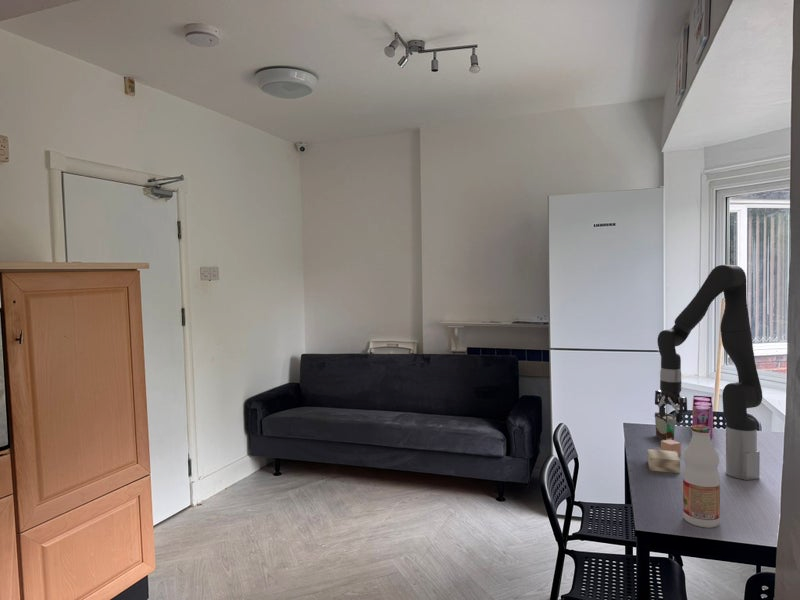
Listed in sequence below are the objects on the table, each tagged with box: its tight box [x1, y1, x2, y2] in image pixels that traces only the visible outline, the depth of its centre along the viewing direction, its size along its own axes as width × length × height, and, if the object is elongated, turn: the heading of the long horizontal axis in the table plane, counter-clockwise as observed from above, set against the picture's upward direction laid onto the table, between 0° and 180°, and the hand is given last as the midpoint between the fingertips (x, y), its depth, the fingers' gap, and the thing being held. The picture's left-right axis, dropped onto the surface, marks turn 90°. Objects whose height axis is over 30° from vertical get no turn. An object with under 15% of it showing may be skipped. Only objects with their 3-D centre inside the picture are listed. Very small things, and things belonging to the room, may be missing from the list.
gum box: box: [691, 395, 714, 439], centre depth 239 cm, size 24×8×14 cm, turn 150°
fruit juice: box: [682, 425, 721, 529], centre depth 154 cm, size 9×9×28 cm
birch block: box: [647, 448, 681, 474], centre depth 198 cm, size 10×10×5 cm
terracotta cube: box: [660, 439, 682, 456], centre depth 211 cm, size 5×5×5 cm
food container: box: [653, 412, 678, 441], centre depth 230 cm, size 12×6×10 cm, turn 179°
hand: (670, 419), depth 211 cm, fingers open, 8 cm apart
